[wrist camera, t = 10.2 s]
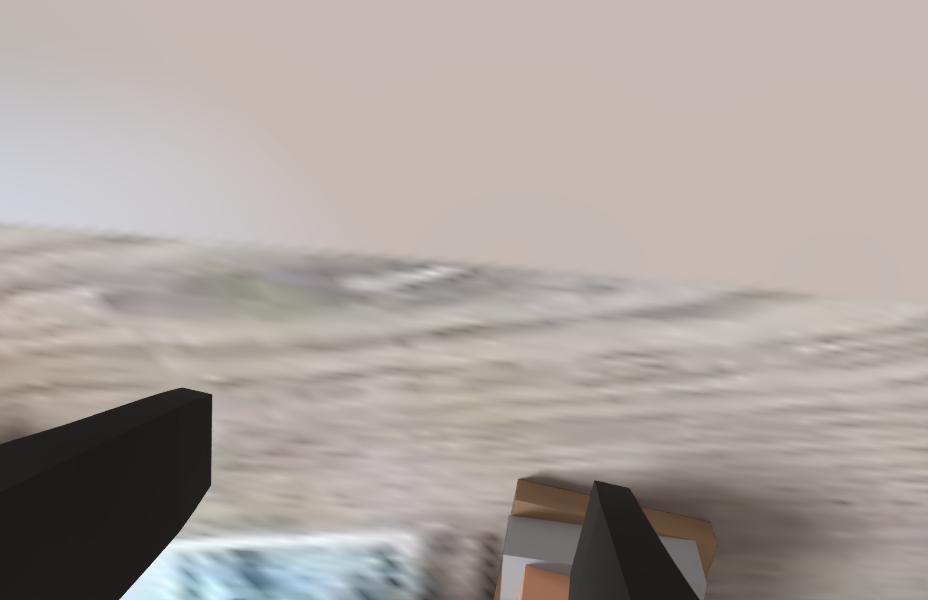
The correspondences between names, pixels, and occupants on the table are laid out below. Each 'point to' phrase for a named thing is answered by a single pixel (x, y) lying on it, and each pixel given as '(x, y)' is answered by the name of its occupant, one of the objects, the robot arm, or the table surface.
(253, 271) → the table surface
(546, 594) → the terracotta block
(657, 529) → the walnut slab
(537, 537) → the slate slab
